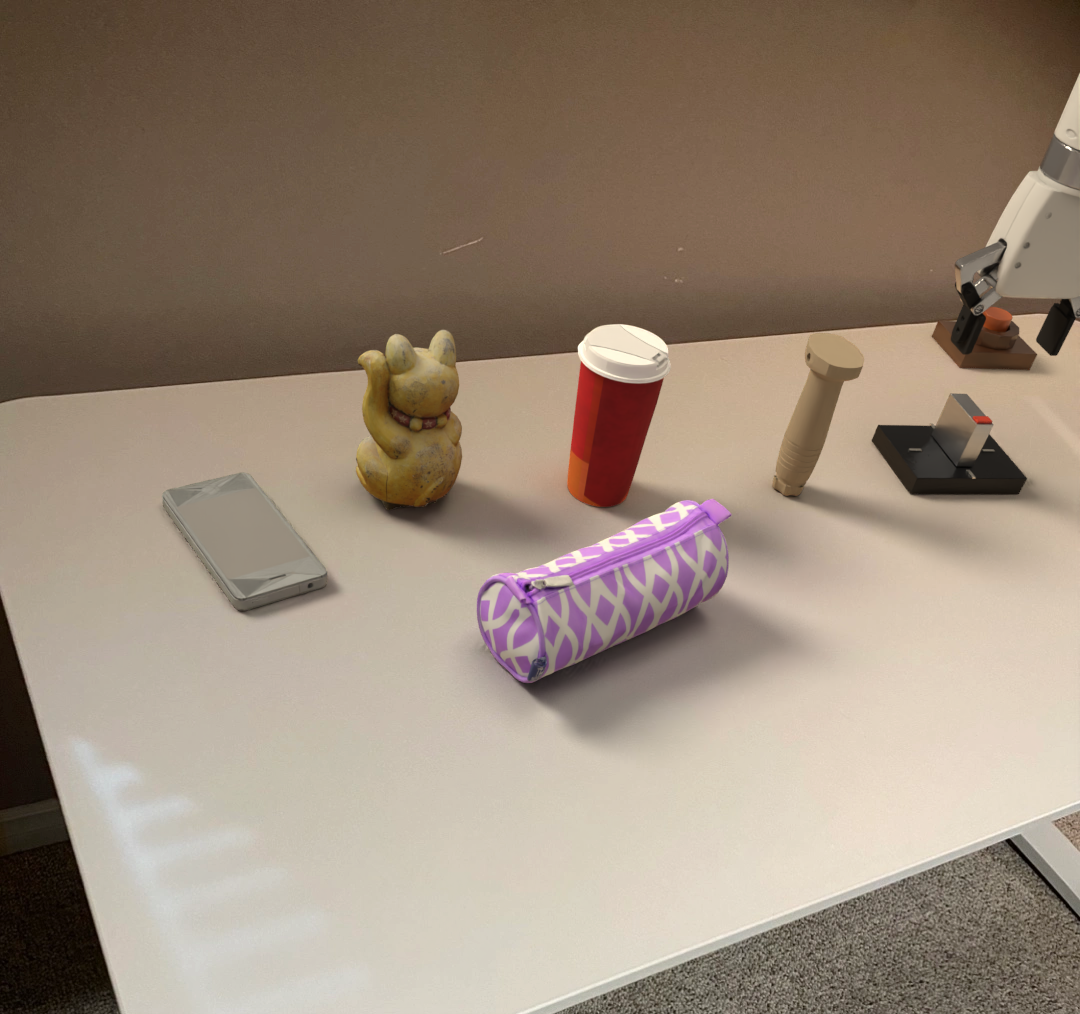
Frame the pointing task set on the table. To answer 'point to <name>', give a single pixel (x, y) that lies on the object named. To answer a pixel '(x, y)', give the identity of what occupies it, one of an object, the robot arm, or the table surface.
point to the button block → (988, 348)
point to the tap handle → (962, 429)
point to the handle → (815, 408)
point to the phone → (244, 540)
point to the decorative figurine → (410, 422)
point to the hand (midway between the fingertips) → (1003, 348)
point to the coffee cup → (613, 410)
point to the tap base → (944, 464)
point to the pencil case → (604, 591)
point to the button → (997, 319)
